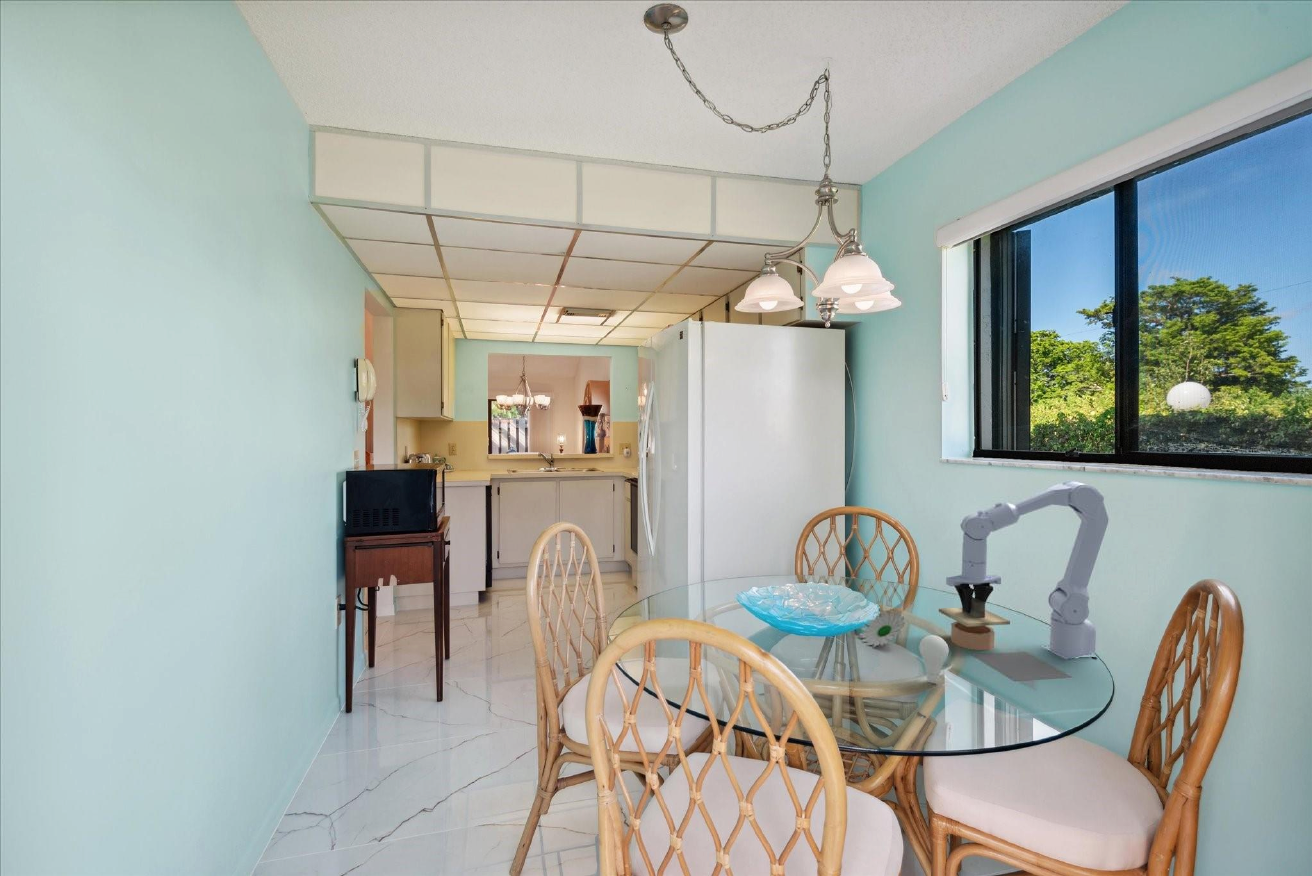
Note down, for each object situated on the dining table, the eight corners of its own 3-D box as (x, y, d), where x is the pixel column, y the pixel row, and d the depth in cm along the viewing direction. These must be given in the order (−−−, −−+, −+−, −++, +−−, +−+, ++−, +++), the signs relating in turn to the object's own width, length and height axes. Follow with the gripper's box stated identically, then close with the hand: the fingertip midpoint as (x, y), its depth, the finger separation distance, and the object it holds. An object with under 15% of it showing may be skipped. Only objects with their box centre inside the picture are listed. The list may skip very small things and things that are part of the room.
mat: (1025, 653, 157) (1025, 651, 157) (1072, 679, 142) (1072, 677, 142) (971, 656, 155) (971, 654, 155) (1014, 683, 140) (1014, 681, 140)
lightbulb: (940, 677, 143) (941, 631, 142) (952, 689, 136) (954, 641, 136) (914, 677, 143) (915, 630, 142) (924, 689, 137) (926, 640, 136)
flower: (865, 593, 188) (909, 615, 158) (875, 608, 188) (921, 633, 158) (830, 618, 187) (868, 644, 157) (840, 633, 187) (880, 662, 157)
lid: (978, 609, 169) (979, 592, 169) (1009, 624, 157) (1010, 605, 157) (938, 611, 167) (939, 594, 167) (967, 626, 155) (967, 607, 155)
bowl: (976, 636, 168) (977, 620, 168) (1002, 650, 159) (1002, 633, 158) (943, 638, 167) (943, 622, 167) (966, 652, 157) (967, 635, 157)
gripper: (988, 556, 167) (987, 605, 167) (939, 557, 165) (938, 607, 165) (1007, 562, 160) (1005, 614, 160) (956, 564, 158) (954, 616, 158)
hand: (972, 611), depth 162 cm, fingers closed on lid, 3 cm apart
